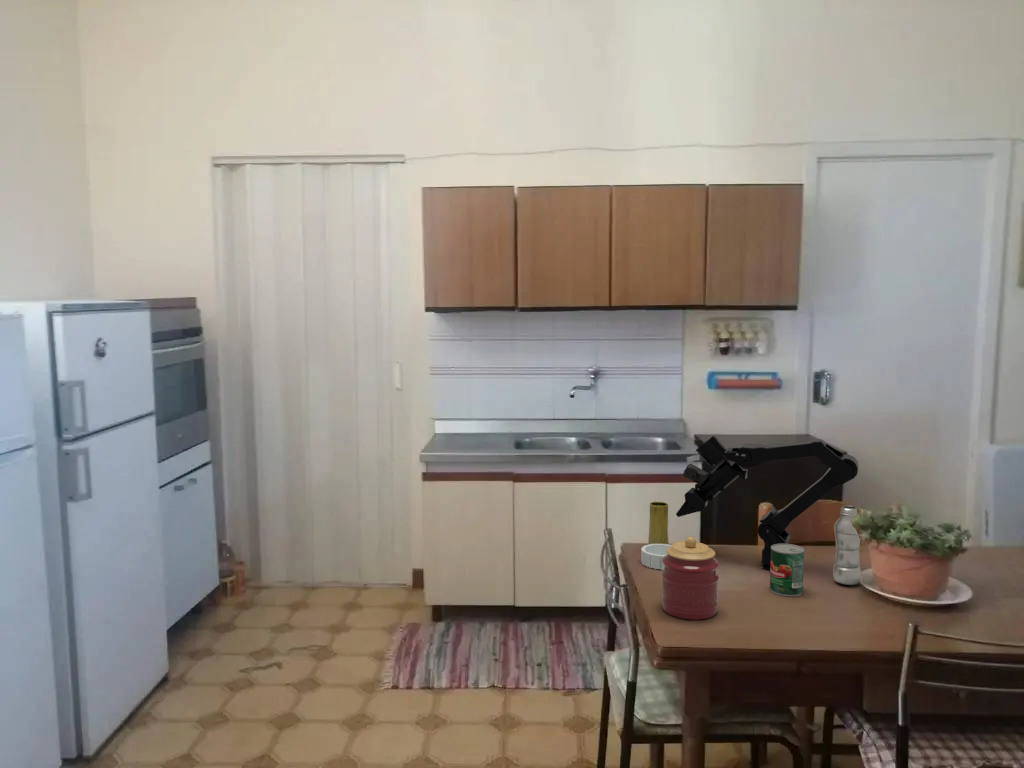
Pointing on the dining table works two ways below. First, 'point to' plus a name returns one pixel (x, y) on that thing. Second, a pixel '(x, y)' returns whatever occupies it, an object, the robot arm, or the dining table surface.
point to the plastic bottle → (846, 548)
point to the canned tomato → (786, 569)
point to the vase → (658, 523)
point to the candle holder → (654, 555)
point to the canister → (690, 580)
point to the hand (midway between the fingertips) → (681, 511)
